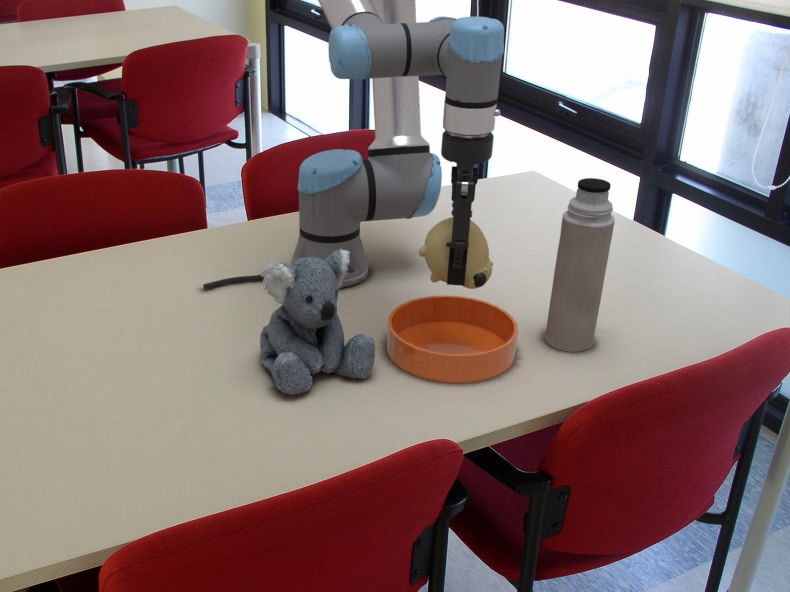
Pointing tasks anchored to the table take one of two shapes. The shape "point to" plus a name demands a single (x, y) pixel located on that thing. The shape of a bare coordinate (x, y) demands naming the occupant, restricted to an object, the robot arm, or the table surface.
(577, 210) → the thermos bottle
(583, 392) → the table surface
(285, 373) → the koala plush
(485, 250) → the beige pug toy
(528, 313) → the table surface
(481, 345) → the pan
